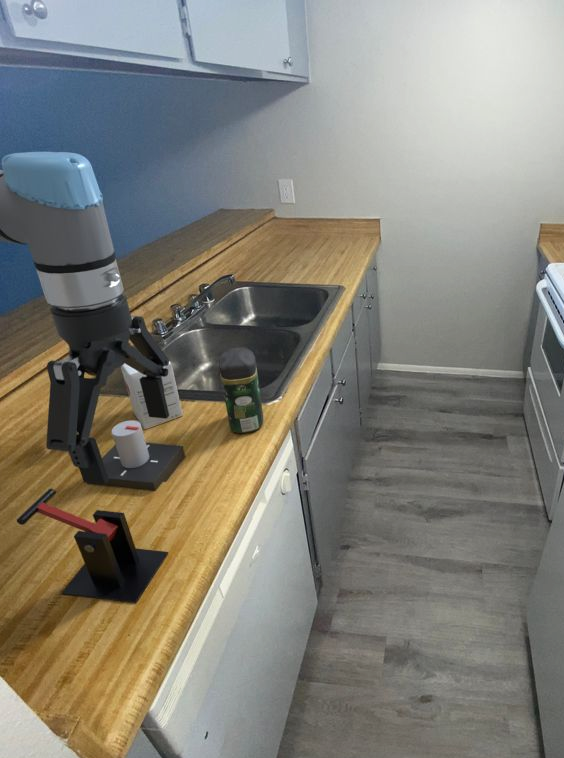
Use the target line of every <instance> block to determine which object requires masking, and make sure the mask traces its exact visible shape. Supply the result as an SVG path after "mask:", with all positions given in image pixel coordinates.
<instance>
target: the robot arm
mask: <svg viewBox="0 0 564 758" xmlns="http://www.w3.org/2000/svg"><path fill="white" fill-rule="evenodd" d="M1 167H2V169H0V242H2V243H11V244H18V245H19V244H20V245H27V247H28V250H29V252H30V254H31V258H32V261H33V265H34V267H35V269H36V273H37V276H38V279H39V283H40V285H41V288H42V292H43V294H44V297H45V300H46V303H47V304H49V305H51V307H50V308H49V312H50V315H51V318H52V320H53V324H54V327H55V330H56V333H57V335H58V337H60V338H61V339H62V340H63V341H64V342H65V343H66V345H67V346H68V349H69V351H68V357H66V358H64V359H62V360H49V361H48V362H47V365H46V370H47V374H48V378H49V396H48V397H49V399H48V414H47V428H46V443H45V446H46V449H47V450H50V451H59V452H68V454H69V458H70V460H71V463H72V465H73V466H74V467H75V468H78V470H79V472H80V475H81V478H82V480H83V481H82V482H83V483H86V484H87V483H94V484H103V485H105V484H106V483H107V482H108V481H109V478H108V475H107V472H106V469H105V466H104V463H103V460H102V457H103V456H102V454H101V451H100V449H99V446H98V442H97V439H96V438H95V437H90V435H91V431H92V427H93V423H94V418H95V416H96V415H95V414H96V410H97V406H98V402H99V397H100V393H101V390H102V388H103V387H105V386H106V384H107V381H108V377H109V376H111V375H112V374H113V373H114V372H115V371H116V369H119V368H121V366H122V365H124V363H125V364H127V365H128V366H130V367H132V368H133V369H135V370H137V371H138V372H140V373H142V374H143V375H146V377H141V378H140V379H139V380H140V384H141V387H142V391H143V395H144V399H145V403H146V407H147V411H148V414H149V417H154V418H165V419H167V418H168V417H169V411H168V407H167V403H166V399H165V395H164V386H163V381H162V377H161V376H163V377H166V376H167V375H168V369H167V368H163V367H164V366H168V364H169V361H170V358H169V357H168V356H167V354H166V353H165V352H164V350H163V348H161V346H160V345H159V343H158V342H157V341H156V340H155V338H154V337H153V335H152V334H151V333H150V331H149V330H148V328H147V325H146V322H145V319H144V317H143V316H141V315H140V316H139V315H132V314H131V310H130V307H129V302H128V298H127V297H126V295H124V294H123V293H124V291H125V289H124V285H123V282H122V281H123V280H122V277H121V273H120V269H119V266H118V261H117V255H116V252H115V249H114V244H113V241H112V236H111V232H110V227H109V224H108V219H107V216H106V210H105V207H104V197H103V193H102V192H101V191H100V187H99V185H98V184H99V183H98V181H97V178H96V175H95V172H94V169H93V167H92V163H91V162H90V160H88V159H87V158H86V157H85V156H84V155H82V154H79V153H75V152H68V151H58V152H57V151H27V152H26V151H25V152H15V153H10V154H6V155H5V156H3V157H2V159H1ZM129 341H130V342H131V343H130V342H129ZM131 344H132V345H131ZM85 374H87V375H88V376H92V377H93V378H90V377H85Z"/></svg>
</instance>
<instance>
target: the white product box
mask: <svg viewBox="0 0 564 758" xmlns="http://www.w3.org/2000/svg"><path fill="white" fill-rule="evenodd" d="M163 368H167V369H168V375H167V376H166V377H163V376H161V377H162V381H163V386H164V395H165V399H166V403H167V407H168V411H169V417H168V418H167V419H165V418H154V417H149V414H148V411H147V407H146V403H145V399H144V395H143V391H142V387H141V384H140V380H139V379H140V378H141V377H146V375H143V374H142V373H140V372H138V371H137V370H135V369H133V368H132V367H130V366H128V365H127V364H125V363H124V365H122V366H121V367H120V369H121V373H122V376H123V380H124V383H125V388H126V390H127V393H128V397H129V401H130V404H131V408H132V412H133V414H134V416H135V417H136V419H137V421H138V422H139V423H140V424H141V427H142V429H143V430H149V429H151V428H153V427H156V426H159V425H161V424H164V423H167V422H169V421H172V420H175V419H178V418H180V417H183V410H182V405H181V401H180V396H179V392H178V387H177V383H176V378H175V374H174V373H175V372H174V369H173V365H172V362H171V361H170V360H169V364H168V366H164V367H163Z"/></svg>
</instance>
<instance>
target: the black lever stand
mask: <svg viewBox="0 0 564 758" xmlns="http://www.w3.org/2000/svg"><path fill="white" fill-rule="evenodd" d="M92 517H93V520H94V523H95V524H96V522H97V521H98V520H99V519H102V520H104V521H107V522H109V523H112V524H114V525H117V529H116V533H115V535H114V537H113V538H112V539H111V541H109V539H108V536H107V534H103V533H94V532H85V531H83V530H78V531H77V532H76V533H75V534H74V535H73V538H74V540H75V543H76V546H77V547H78V550H79V553H80V556H81V557H82V560H83V562H84V564H83V565H82V566H81V568H79V570H78V571H77V573H76V574H75V575H74V576H73V577H72V579H70V582H68V583H67V585H66V586H65V587H64V588H63V590H62V591H61V592H60V595H63V596H71V597H78V598H87V599H94V600H104V601H111V602H121V603H130V604H137V603H138V602H139V600H140V599H141V598H142V596H143V594H144V593H145V591H146V590H147V588H148V586H149V585H150V584H151V582H152V580H153V579H154V577H155V575H156V574H157V572H158V571H159V569H160V567H161V566H162V564H163V563H164V562H165V560H166V559H167V557H168V555H169V551H163V550H154V549H145V548H136V545H135V542H134V539H133V536H132V533H131V530H130V528H129V524H128V520H127V518H126V515H125V512H121V511H120V512H119V511H108V510H100V509H96V511H94V512H93V513H92Z"/></svg>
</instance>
